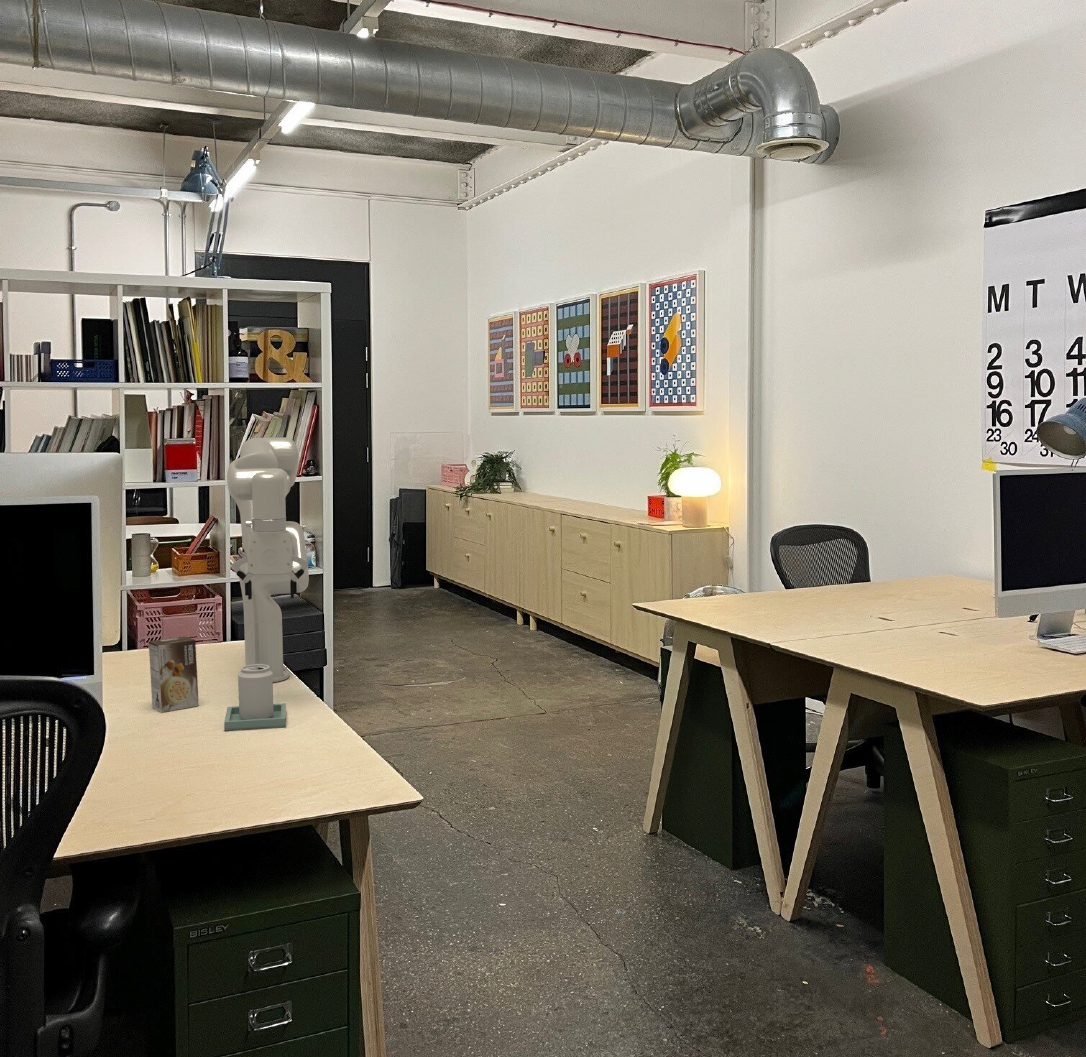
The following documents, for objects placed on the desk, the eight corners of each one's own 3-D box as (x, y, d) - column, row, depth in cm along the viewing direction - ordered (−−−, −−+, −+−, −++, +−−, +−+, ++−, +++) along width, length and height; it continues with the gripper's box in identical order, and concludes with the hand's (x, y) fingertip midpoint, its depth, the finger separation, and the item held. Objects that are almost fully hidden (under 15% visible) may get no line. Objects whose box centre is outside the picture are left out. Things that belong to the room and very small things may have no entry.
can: (280, 717, 249) (279, 665, 248) (255, 725, 243) (254, 671, 241) (257, 712, 253) (255, 661, 252) (232, 720, 247) (230, 667, 245)
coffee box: (188, 700, 265) (186, 635, 264) (199, 706, 260) (197, 639, 259) (150, 707, 260) (148, 640, 258) (161, 713, 255) (158, 645, 253)
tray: (227, 715, 253) (227, 706, 252) (285, 711, 255) (285, 703, 255) (224, 731, 240) (224, 722, 240) (285, 727, 243) (285, 718, 243)
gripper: (229, 528, 250) (231, 602, 252) (307, 527, 253) (309, 600, 256) (231, 523, 257) (234, 595, 260) (307, 522, 261) (309, 593, 263)
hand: (271, 597), depth 258 cm, fingers open, 9 cm apart
